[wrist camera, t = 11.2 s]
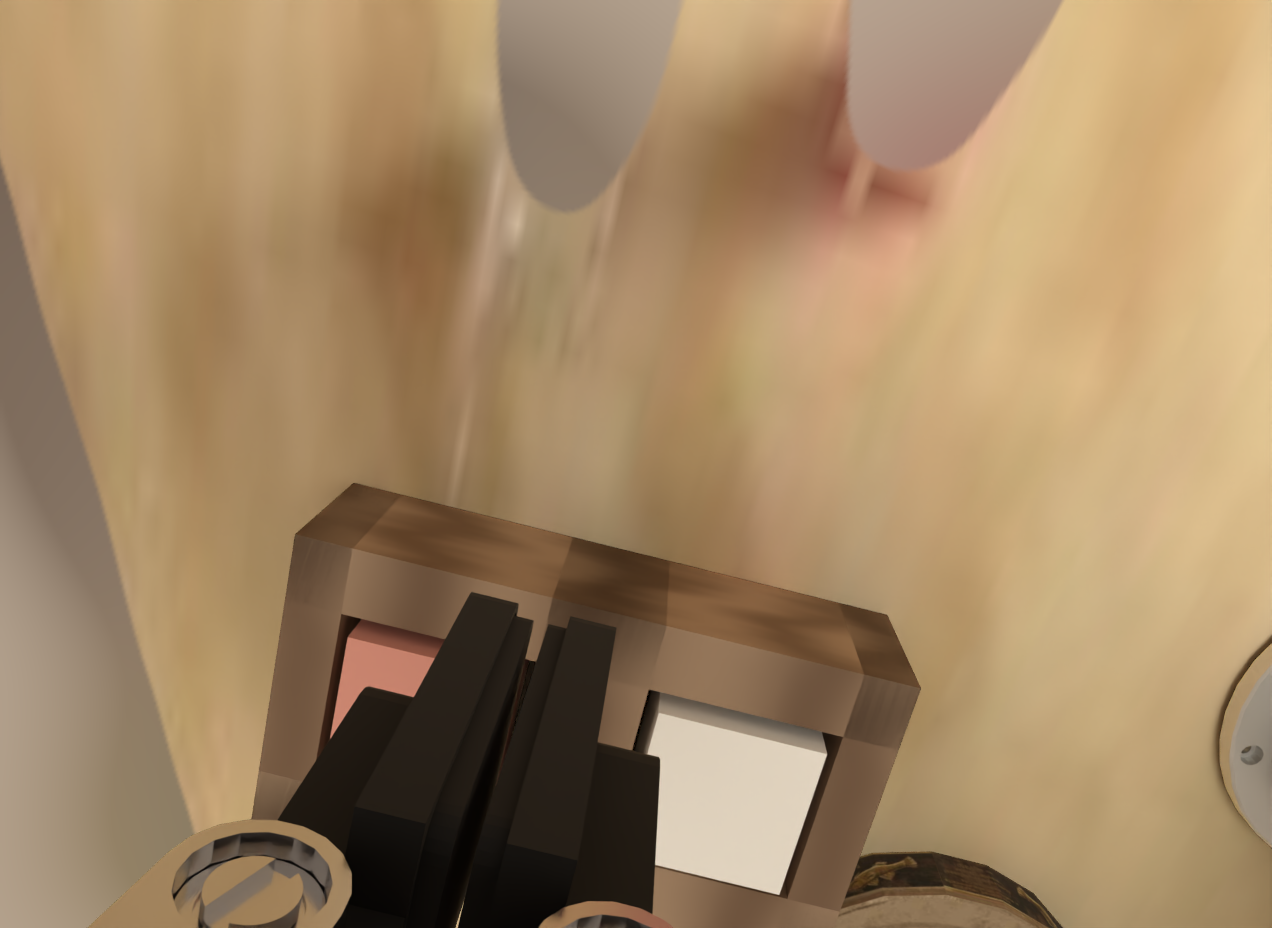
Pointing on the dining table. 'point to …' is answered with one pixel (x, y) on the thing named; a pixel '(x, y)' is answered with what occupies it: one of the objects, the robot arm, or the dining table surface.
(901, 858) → the brown flat disc
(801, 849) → the frame
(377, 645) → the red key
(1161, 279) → the dining table surface
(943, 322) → the dining table surface
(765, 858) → the white block
